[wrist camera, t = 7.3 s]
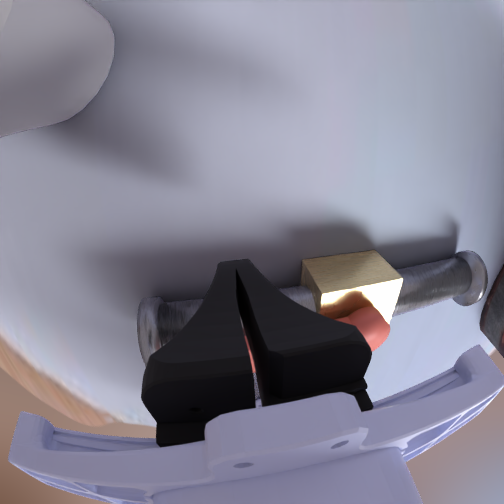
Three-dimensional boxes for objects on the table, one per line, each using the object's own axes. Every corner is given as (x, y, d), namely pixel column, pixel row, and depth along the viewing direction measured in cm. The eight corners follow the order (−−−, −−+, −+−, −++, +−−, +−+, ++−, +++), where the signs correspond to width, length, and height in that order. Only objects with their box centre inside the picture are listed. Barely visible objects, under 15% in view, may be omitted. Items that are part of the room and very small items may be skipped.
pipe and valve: (444, 287, 24) (473, 317, 19) (164, 338, 21) (159, 391, 16) (461, 237, 21) (496, 264, 17) (143, 278, 18) (129, 331, 13)
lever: (384, 302, 17) (395, 315, 15) (374, 335, 18) (383, 348, 17) (171, 338, 15) (169, 356, 14) (183, 370, 17) (183, 387, 15)
